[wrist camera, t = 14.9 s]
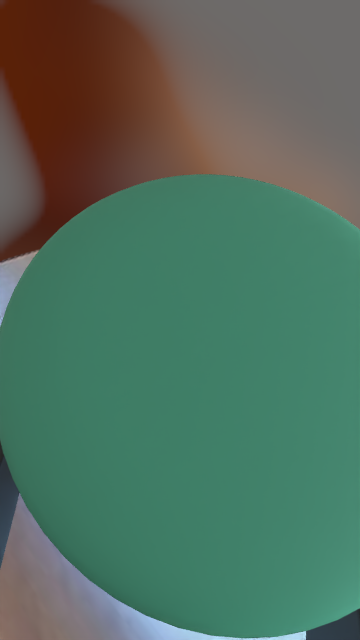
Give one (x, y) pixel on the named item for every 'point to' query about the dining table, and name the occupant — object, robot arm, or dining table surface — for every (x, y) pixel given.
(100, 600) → the dining table surface
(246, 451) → the milk bottle
